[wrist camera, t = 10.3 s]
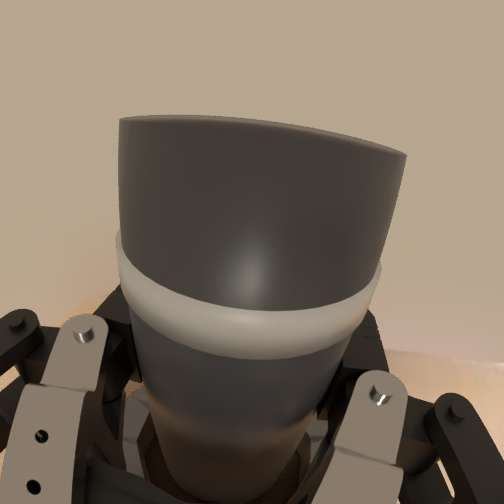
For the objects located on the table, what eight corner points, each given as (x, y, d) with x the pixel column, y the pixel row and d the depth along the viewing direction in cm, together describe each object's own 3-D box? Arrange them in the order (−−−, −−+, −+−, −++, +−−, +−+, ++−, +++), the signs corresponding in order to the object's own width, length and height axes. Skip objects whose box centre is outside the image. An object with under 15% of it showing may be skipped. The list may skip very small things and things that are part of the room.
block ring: (324, 400, 15) (334, 379, 14) (318, 560, 6) (335, 557, 6) (159, 369, 16) (156, 346, 15) (93, 511, 7) (76, 500, 6)
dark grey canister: (289, 415, 12) (371, 140, 7) (279, 515, 8) (477, 184, 2) (182, 395, 13) (181, 113, 8) (146, 486, 8) (41, 128, 3)
